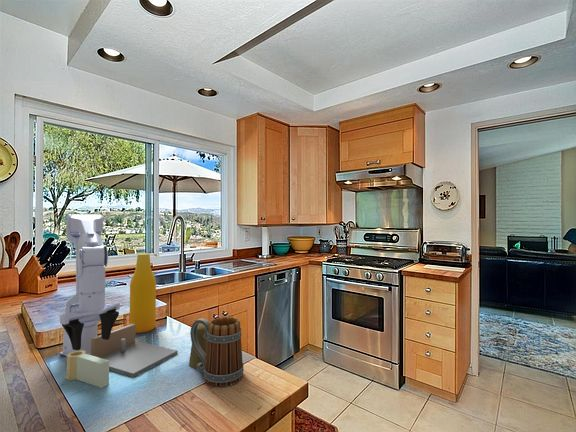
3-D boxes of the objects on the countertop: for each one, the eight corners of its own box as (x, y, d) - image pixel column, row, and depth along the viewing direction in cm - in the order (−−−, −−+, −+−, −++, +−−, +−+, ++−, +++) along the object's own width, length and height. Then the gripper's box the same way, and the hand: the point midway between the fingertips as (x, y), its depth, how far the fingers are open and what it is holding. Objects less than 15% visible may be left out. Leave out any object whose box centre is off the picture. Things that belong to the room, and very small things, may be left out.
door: (63, 377, 81) (63, 355, 81) (79, 371, 85) (79, 349, 85) (97, 389, 75) (97, 365, 76) (112, 382, 79) (112, 359, 79)
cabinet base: (85, 362, 90) (86, 338, 90) (133, 343, 104) (133, 322, 105) (133, 377, 82) (133, 351, 82) (177, 353, 96) (177, 331, 96)
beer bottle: (159, 328, 118) (160, 254, 119) (135, 335, 111) (136, 256, 112) (149, 323, 124) (150, 252, 125) (125, 329, 118) (126, 254, 118)
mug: (250, 371, 85) (250, 317, 85) (231, 391, 75) (231, 330, 75) (202, 362, 90) (203, 311, 91) (179, 380, 80) (179, 323, 81)
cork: (204, 368, 86) (204, 330, 87) (184, 366, 88) (185, 328, 88) (213, 359, 92) (213, 323, 93) (195, 357, 94) (195, 321, 94)
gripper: (72, 299, 72) (71, 357, 72) (127, 287, 85) (126, 336, 85) (55, 296, 75) (54, 352, 75) (110, 285, 88) (109, 333, 88)
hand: (91, 344), depth 80 cm, fingers open, 7 cm apart
